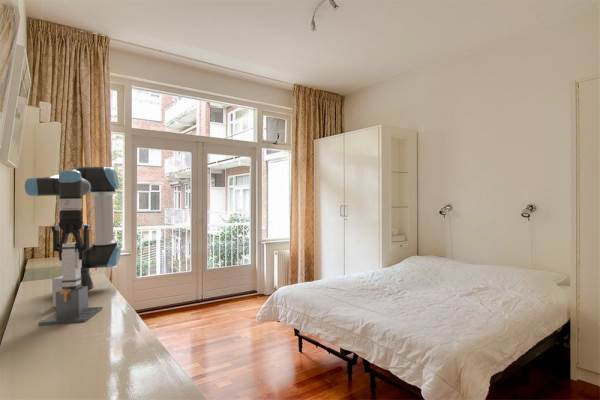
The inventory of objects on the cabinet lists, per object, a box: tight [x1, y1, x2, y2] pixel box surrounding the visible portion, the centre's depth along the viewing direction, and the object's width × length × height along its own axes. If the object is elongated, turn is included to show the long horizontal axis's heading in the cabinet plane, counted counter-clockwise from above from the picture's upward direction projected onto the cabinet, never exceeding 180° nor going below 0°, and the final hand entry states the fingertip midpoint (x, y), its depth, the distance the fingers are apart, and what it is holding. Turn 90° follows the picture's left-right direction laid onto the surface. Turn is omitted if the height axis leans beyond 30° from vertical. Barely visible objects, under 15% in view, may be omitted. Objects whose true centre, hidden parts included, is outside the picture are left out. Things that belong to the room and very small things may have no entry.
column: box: [61, 241, 82, 290], centre depth 136 cm, size 5×5×22 cm
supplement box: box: [51, 275, 63, 308], centre depth 153 cm, size 7×7×13 cm
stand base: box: [38, 286, 103, 326], centre depth 136 cm, size 16×16×12 cm
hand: (71, 268), depth 136 cm, fingers closed on column, 4 cm apart
